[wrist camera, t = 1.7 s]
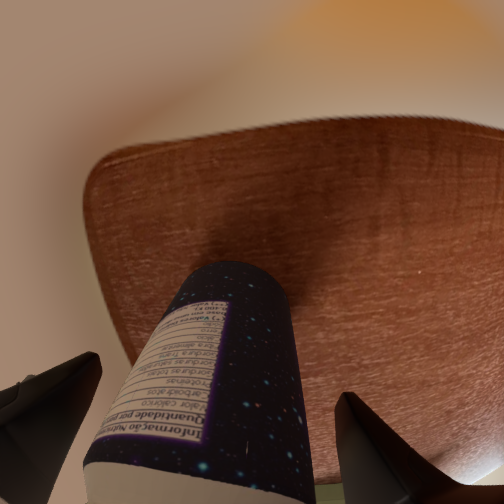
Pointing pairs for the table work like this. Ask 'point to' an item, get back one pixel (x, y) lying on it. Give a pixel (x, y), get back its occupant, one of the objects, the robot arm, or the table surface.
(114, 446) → the beverage can
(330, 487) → the shelf
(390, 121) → the table surface
